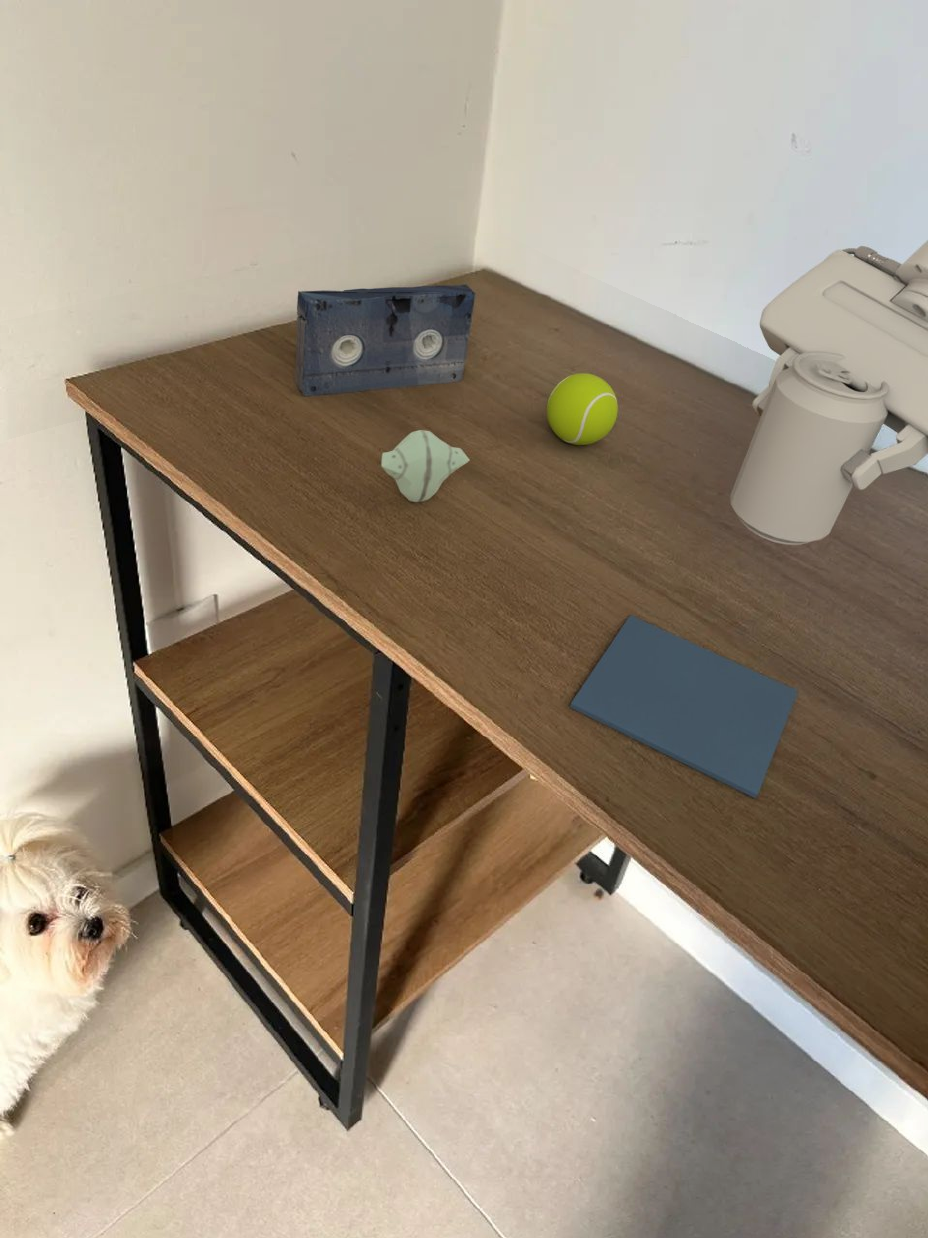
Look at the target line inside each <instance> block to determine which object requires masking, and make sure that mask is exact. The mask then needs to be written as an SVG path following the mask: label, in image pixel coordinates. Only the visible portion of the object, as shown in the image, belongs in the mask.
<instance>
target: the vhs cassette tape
mask: <svg viewBox="0 0 928 1238" xmlns="http://www.w3.org/2000/svg"><path fill="white" fill-rule="evenodd" d="M476 295H477V294H476V292H475V291H473V289H472V288H471V287H470V286H469V285H468V284H459V285H452V284H451V285H450V284H449V285H445V284H443V285H441V284H440V285H420V286H406V287H405V286H404V287H402V286H399V287H398V286H397V287H393V286H392V287H390V286H389V287H376V288H375V287H373V288H355V289H354V288H353V289H344V290H301V291H300V290H298V291H297V302H296V303H297V304H296V311H297V312H296V315H297V317H296V329H295V330H296V337H295V338H296V339H295V341H296V343H295V344H296V345H295V346H296V347H295V369H294V383H295V385H296V387H297V388H298V390H299V391H300V393H301V394H302V396H303V397H315V396H322V395H333V394H345V393H354V392H357V393H358V392H366V391H376V390H377V391H378V390H384V389H398V388H399V389H400V388H408V387H419V386H428V385H429V386H430V385H436V384H437V385H438V384H439V385H440V384H449V383H458V382H461V381H462V380H463V378H464V377H463V376H464V373H465V362H466V358H467V351H468V345H469V338H470V332H471V325H472V322H473V313H474V307H475V299H476Z"/></svg>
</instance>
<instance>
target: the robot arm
mask: <svg viewBox="0 0 928 1238" xmlns="http://www.w3.org/2000/svg"><path fill="white" fill-rule="evenodd" d="M759 328H760V331H761V334H762V336H763V338H764V340H765V342H766V344H767V346H768V347H769V349H770V350H771V351H772V352H774V353H776V354H777V355H778V357H777V358H776V361H775V363H774V366H773V368H772V369H773V370H772V373H771V375H770V378H769V381H768V386H767V387H766V388H765V389H764V390H763V391H762V392H761V393H759V395H758V396H756V397H755V398H754V400H753V401H752V404H751V406H752V409H753V411H754V413H755V414H756V415H757V416H758V417H760V418H761V415H762V413H763V410H764V407H765V405H766V402H767V400H768V397H769V395H770V392H771V389H772V387H773V384H774V382H775V379H776V377H777V376H778V374H779V373H780V372H781V371H783V370H785V369H787V368H789V367H791V366H793V363H792V362H793V360H794V359H795V357H796V356H798V355H800V354H802V353H805V352H813V351H820V352H830V353H835V354H840V355H843V356H844V357H846V358H845V359H841V360H839V361H837V362H835V363H837V364H838V365H840V366H842V367H843V368H845V369H846V370H848V371H850V372H848V371H842V372H841V373H843V374H845V375H847V376H848V377H850V378H851V380H852V381H851V383H850V384H848V385H850V386H851V387H853V388H854V389H856V390H858V391H859V392H865V391H867V390H868V385H867V383H868V384H870V385H872V386H873V387H875V388H876V389H878V390H881V383H882V382H883V381H885V382H886V383H888V386H889V389H888V391H887V393H886V394H885V395H883V396H882V397H883V402H884V405H885V408H886V409H887V410H889V412H888V414H887V417H886V419H885V421H884V423H883V425H885V426H886V427H888V428H890V430H893V432H895V433H897V434H896V435H895V439H896V442H897V443H896V444H893V445H890V446H887V447H885V448H883V449H880V450H877V451H874V452H872V453H870V454H869V453H867V452H865V451H863V450H862V449H860V450H859V451H858V452H857V453H856V454H855V455H853V456H852V459H851V460H848V461H846V462H845V463H844V464H843V466H842V468H841V472H842V474H843V475H844V478H845V479H846V480H848V481H849V482H850V483H851V484H853V487H855V488H857V489H858V490H860V491H864V490H865V489H866V488H867V487H869V486H870V485H871V484H872V483H873V482H874V481H875V480H876V479H877V478H878V477H879V476H881V475H885V474H889V473H893V472H897V471H898V470H902V469H906V468H909V467H913V466H915V465H917V464H918V463H919V462H921V460H923V459H924V458H925V457H926V456H927V455H928V239H927V240H926V241H925V242H924V243H923V244H922V245H921V246H920V247H919V248H917V249H916V251H914V253H912V254H911V255H910V256H909V257H908V258H907V259H906V260H905V261H904V262H902V263H900V262H898V261H897V260H894V259H892V258H889V257H886V256H883V255H882V254H880V253H878V251H876V250H875V249H873V248H871V247H869V246H864V245H860V246H858V247H857V248H854V247H851V248H850V247H849V248H844V249H836V250H834V251H833V252H831V253H830V254H829V255H828V256H827V257H825V258H824V259H823V261H821V262H820V263H818V264H817V265H815V266H814V267H812V268H811V269H809V270H808V271H807V272H805V273H804V274H803V275H801V276H800V277H799V278H798V279H795V281H793V282H792V283H791V284H790V285H788V286H787V287H786V288H785V289H784V290H783V291H782V292H780V293H778V295H776V296H775V297H774V298H773V299H772V300H770V302H769V303H768V304H766V306H765V307H764V308H763V309H762V311H761V315H760V319H759ZM838 376H839V375H838ZM839 377H841V376H839ZM841 378H843V377H841ZM843 379H845V378H843ZM866 382H867V383H866Z"/></svg>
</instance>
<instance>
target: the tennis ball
mask: <svg viewBox="0 0 928 1238" xmlns="http://www.w3.org/2000/svg"><path fill="white" fill-rule="evenodd" d="M618 404H619V403H618V399H617V396H616V393H615V391H614V390H613V388H612V386H610V384H608V382H606V380H604V379H603V378H601V377H599V376H597V375H595V374H592V373H587V372H586V373H585V372H583V373H582V372H579V373H574V374H571V375H568V376H567V377H564V378H563V379H562V380H560V381H559V382H558V383H557V384H556V385H555V386H554V387H553V389H552V391H551V392H550V395H549V396H548V400H547V404H546V416H547V417H546V418H547V421H548V424H549V427H550V428H551V430H552V432H553V433H554V434H555V435H556V436H557V437H558V438H559V439H560V440H562V441H564V442H565V443H568V444H571V445H575V446H588V445H592V444H594V443H597V442H599V441H600V440H602V439H604V438H605V437H606V436H608V434H609V433H610V431H611V430H612V429H613V427H614V425H615V423H616V420H617V417H618V412H619V407H618Z"/></svg>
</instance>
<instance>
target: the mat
mask: <svg viewBox="0 0 928 1238" xmlns="http://www.w3.org/2000/svg"><path fill="white" fill-rule="evenodd" d="M798 692H799V690H798V689H795V688H794V687H791V686H788V685H787V684H784V683H782V682H779V681H777V680H775V679H773V678H770V677H768V676H766V675H764V674H762V673H760V672H757V671H755V670H753V669H751V668H750V667H746V666H745V665H743V664H740V663H737V662H735V661H733V660H731V659H729V658H726V657H724V656H722V655H720V654H718V653H715V652H713V651H711V650H709V649H706V648H705V647H702V646H701V645H698V644H696V643H694V642H691V641H689V640H687V639H685V638H682V637H680V636H679V635H676V634H673V633H671V632H669V631H667V630H664V628H663V629H662V628H660V627H658V626H656V625H654V624H652V623H649V622H647V621H645V620H643V619H641V618H638V617H636V616H634V615H632V614H630V615H629V616H628V617H627V619H626V620H625V622H624V623H623V625H622V626H621V628H620V629H619V631H618V632H617V633H616V635H615V637H613V640H612V641H611V643H610V644H609V645H608V647H607V649H606V650H605V652H604V653H603V654H602V656H601V658H600V659H599V661H598V662H597V663H596V665H595V666H594V668H593V669H592V670H591V672H590V674H589V675H588V677H587V678H586V680H585V681H584V683H583V684H582V685H581V687H580V688H579V690H578V691H577V693H576V695H575V696H574V697H573V699H572V700H571V702H570V704H569V708H570V709H572V710H574V711H576V712H578V713H581V714H582V715H584V716H586V717H589V718H590V719H593V720H595V721H596V722H598V723H600V724H602V725H605V726H607V727H609V728H611V729H613V730H615V731H617V732H619V733H621V734H623V735H624V736H627V737H629V738H631V739H633V740H635V741H637V742H639V743H641V744H644V745H645V746H648V747H649V748H652V749H654V750H655V751H657V752H660V753H662V754H663V755H665V756H668V757H670V758H672V759H673V760H676V761H678V762H679V763H682V764H684V765H686V766H688V767H690V768H692V769H694V770H696V771H698V772H701V773H702V774H703V775H706V776H708V777H711V778H713V779H714V780H716V781H718V782H720V783H723V784H725V785H726V786H728V787H730V788H733V789H735V790H737V791H739V792H741V793H743V794H745V795H746V796H749V797H751V798H753V799H756V798H757V797H758V795H759V792H760V790H761V788H762V786H763V784H764V783H763V782H764V781H765V777H766V775H767V772H768V770H769V767H770V765H771V762H772V759H773V757H774V754H775V752H776V750H777V747H778V744H779V742H780V739H781V736H782V733H783V731H784V729H785V726H786V724H787V721H788V718H789V716H790V713H791V711H792V708H793V705H794V703H795V700H796V699H797V696H798Z"/></svg>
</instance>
